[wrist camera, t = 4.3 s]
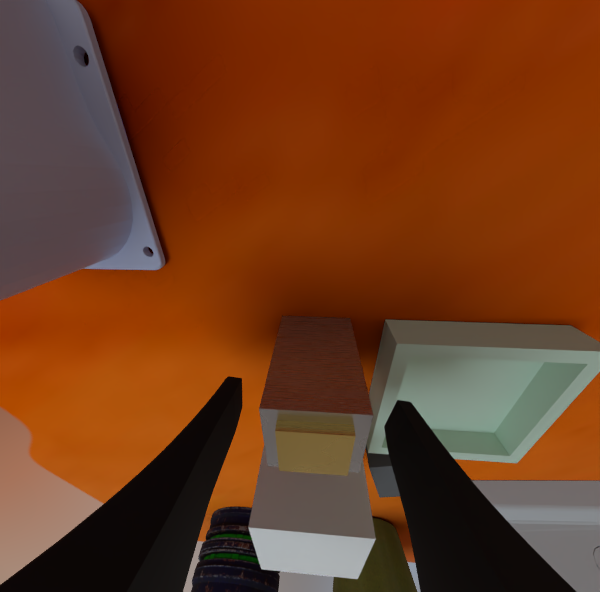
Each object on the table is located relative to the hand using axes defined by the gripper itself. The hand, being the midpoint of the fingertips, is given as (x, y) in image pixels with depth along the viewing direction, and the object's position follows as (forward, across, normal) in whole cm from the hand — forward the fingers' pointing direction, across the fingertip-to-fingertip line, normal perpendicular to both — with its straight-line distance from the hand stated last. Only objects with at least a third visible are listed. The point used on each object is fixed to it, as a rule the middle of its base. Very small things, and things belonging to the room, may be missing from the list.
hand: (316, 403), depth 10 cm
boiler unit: (+4, -1, +9) cm, 10 cm away
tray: (+4, -9, +2) cm, 10 cm away
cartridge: (+4, 0, 0) cm, 4 cm away
